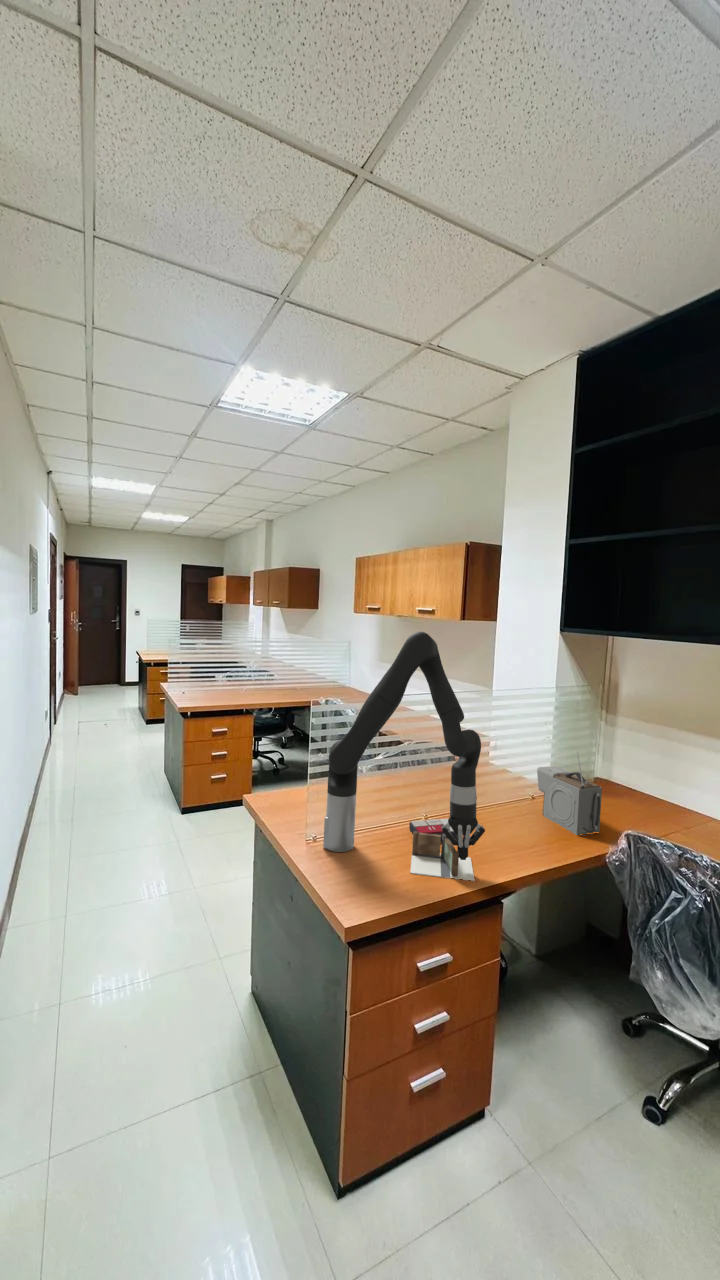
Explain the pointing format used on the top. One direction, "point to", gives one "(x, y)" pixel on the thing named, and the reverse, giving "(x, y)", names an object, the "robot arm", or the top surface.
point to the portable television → (570, 799)
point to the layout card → (440, 867)
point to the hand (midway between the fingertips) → (462, 858)
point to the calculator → (430, 827)
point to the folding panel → (451, 857)
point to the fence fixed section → (428, 844)
